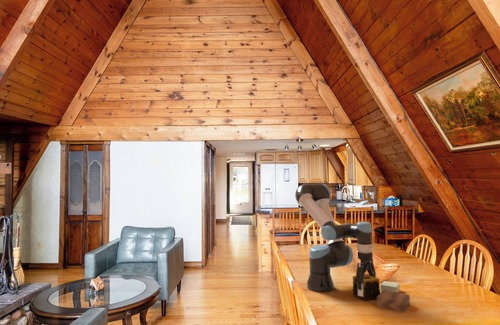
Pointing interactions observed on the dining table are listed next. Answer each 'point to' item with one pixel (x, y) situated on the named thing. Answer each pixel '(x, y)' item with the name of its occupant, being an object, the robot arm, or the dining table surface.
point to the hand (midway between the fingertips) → (366, 292)
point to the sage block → (390, 286)
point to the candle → (367, 287)
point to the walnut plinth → (393, 301)
